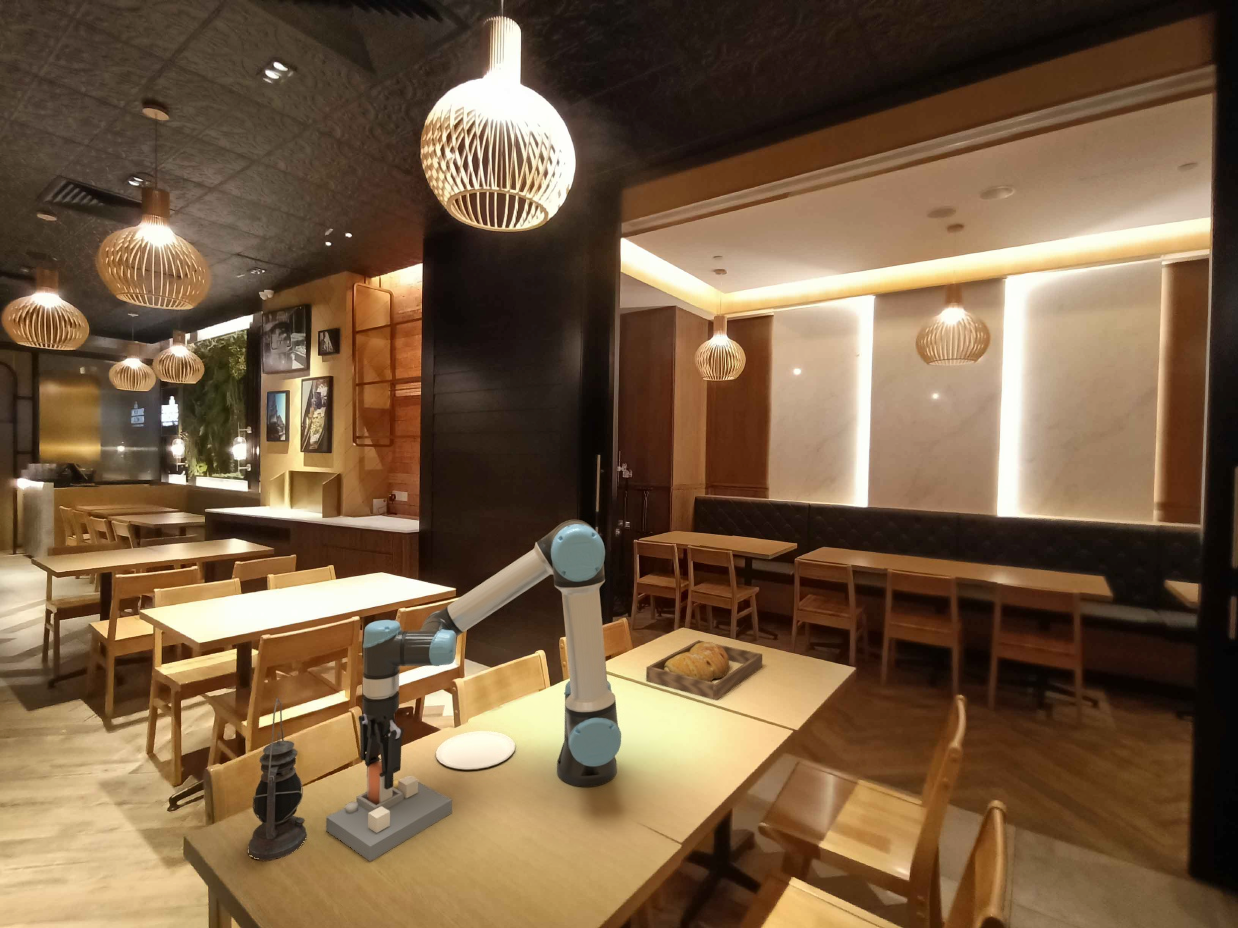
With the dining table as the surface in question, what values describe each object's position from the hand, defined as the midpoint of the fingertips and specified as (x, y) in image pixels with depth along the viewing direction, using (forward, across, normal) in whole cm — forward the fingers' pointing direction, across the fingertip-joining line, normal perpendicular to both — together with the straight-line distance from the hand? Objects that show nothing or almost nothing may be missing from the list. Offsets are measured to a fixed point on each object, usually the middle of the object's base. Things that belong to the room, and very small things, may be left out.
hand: (379, 797), depth 133 cm
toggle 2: (+1, -2, -6) cm, 6 cm away
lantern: (+4, +8, +18) cm, 20 cm away
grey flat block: (+4, -4, 0) cm, 6 cm away
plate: (+4, +5, -32) cm, 33 cm away
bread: (+4, -16, -123) cm, 124 cm away
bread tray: (+3, -18, -122) cm, 123 cm away
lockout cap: (+1, 0, 0) cm, 1 cm away
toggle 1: (+1, -8, +5) cm, 10 cm away
